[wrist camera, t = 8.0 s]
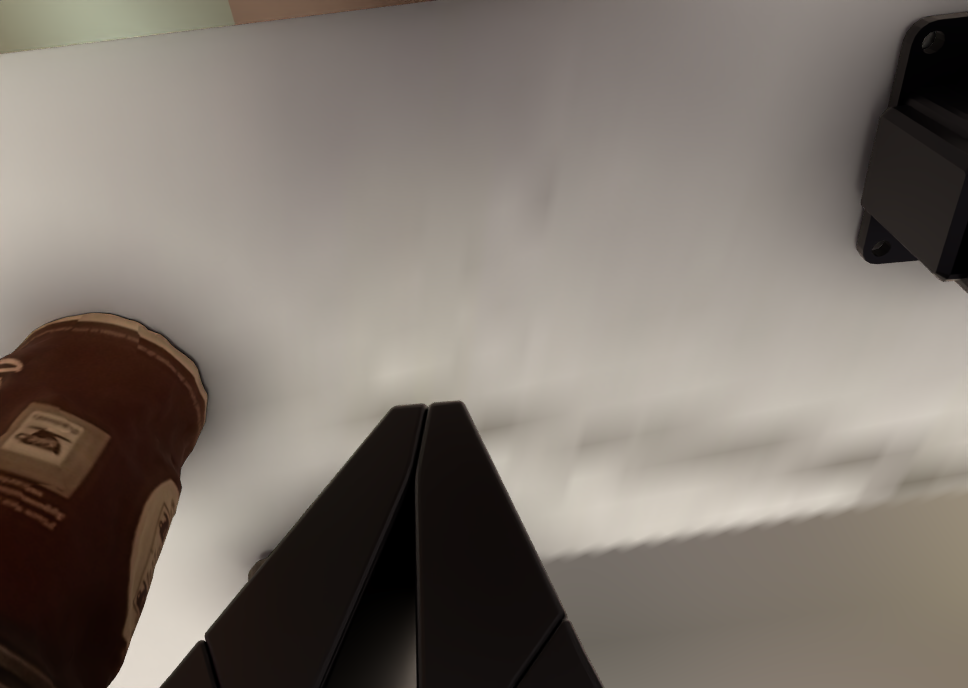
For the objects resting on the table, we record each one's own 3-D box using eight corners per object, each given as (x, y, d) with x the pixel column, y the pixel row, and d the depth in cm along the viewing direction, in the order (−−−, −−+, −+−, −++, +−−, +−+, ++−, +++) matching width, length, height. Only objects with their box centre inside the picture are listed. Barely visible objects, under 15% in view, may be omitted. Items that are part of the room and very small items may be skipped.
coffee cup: (299, 407, 24) (144, 846, 13) (159, 508, 27) (-56, 927, 16) (73, 232, 20) (-397, 653, 9) (-59, 373, 23) (-523, 808, 13)
